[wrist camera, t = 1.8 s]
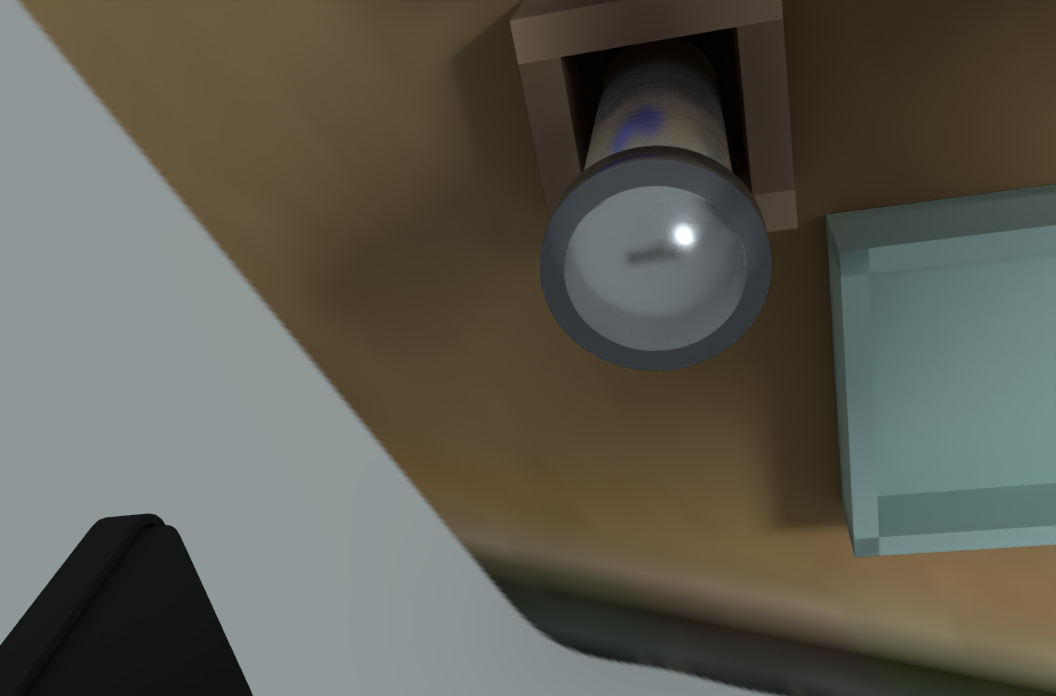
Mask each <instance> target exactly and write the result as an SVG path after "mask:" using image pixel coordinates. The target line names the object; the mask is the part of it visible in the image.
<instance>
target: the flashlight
mask: <svg viewBox="0 0 1056 696" xmlns="http://www.w3.org/2000/svg"><path fill="white" fill-rule="evenodd" d="M540 274H541V282H542V288H543V291H544V295H545V298H546V301H547V303H548V305H549V308H550V310H551V312H552V314H553V315H554V317H555V318H556V320H557V322H558V323H559V324H560V326H561V327H562V328H563V329H564V331H565V332H566V333H567V334H568V335H569V336H570V337H571V338H572V339H573V340H574V341H575V342H576V343H577V344H579V345H580V346H581V347H583V348H584V349H586V350H587V351H588V352H590V353H592V354H594V355H595V356H597V357H599V358H601V359H603V360H606V361H608V362H610V363H613V364H616V365H619V366H623V367H626V368H632V369H637V370H648V371H664V370H673V369H680V368H685V367H688V366H692V365H695V364H698V363H701V362H703V361H706V360H708V359H710V358H712V357H714V356H716V355H718V354H719V353H721V352H723V351H724V350H726V349H727V348H728V347H730V346H731V345H733V344H734V343H735V342H736V341H737V340H738V339H739V338H740V337H742V336H743V335H744V334H745V332H746V331H747V330H748V329H749V328H750V326H751V325H752V324H753V323H754V321H755V320H756V318H757V316H758V315H759V313H760V311H761V309H762V307H763V305H764V303H765V300H766V298H767V295H768V291H769V288H770V283H771V275H772V255H771V249H770V243H769V239H768V234H767V229H766V225H765V222H764V218H763V215H762V212H761V210H760V208H759V206H758V204H757V202H756V200H755V198H754V196H753V195H752V193H751V192H750V191H749V189H748V188H747V186H746V185H745V184H744V183H743V182H742V181H741V180H740V179H739V178H738V177H737V176H736V175H735V174H734V173H733V172H732V168H731V162H730V156H729V150H728V144H727V138H726V132H725V126H724V119H723V113H722V107H721V101H720V95H719V89H718V83H717V77H716V74H715V71H714V68H713V66H712V64H711V62H710V61H709V59H708V58H707V56H706V55H705V54H704V53H703V52H702V51H701V50H700V49H699V48H698V47H697V46H695V45H694V44H692V43H691V42H689V41H687V40H685V39H683V38H679V37H675V38H669V39H663V40H657V41H652V42H646V43H640V44H634V45H628V46H627V47H625V48H624V49H623V50H622V51H621V52H620V53H619V54H618V55H617V56H616V57H615V59H614V60H613V61H612V63H611V65H610V66H609V68H608V70H607V73H606V76H605V79H604V83H603V87H602V92H601V96H600V101H599V105H598V110H597V114H596V119H595V123H594V128H593V132H592V137H591V141H590V146H589V150H588V155H587V159H586V164H585V168H584V171H583V172H582V173H581V174H580V175H579V176H577V177H576V178H575V179H574V180H573V181H572V182H571V184H570V185H569V186H568V187H567V188H566V189H565V191H564V192H563V194H562V195H561V197H560V198H559V200H558V202H557V204H556V206H555V208H554V210H553V212H552V214H551V218H550V221H549V224H548V228H547V231H546V235H545V239H544V242H543V246H542V252H541V259H540Z"/></svg>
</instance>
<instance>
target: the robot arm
mask: <svg viewBox="0 0 1056 696" xmlns="http://www.w3.org/2000/svg"><path fill="white" fill-rule="evenodd" d="M0 696H253V695H252V692H251V690H250V688H249V685H248V683H247V681H246V679H245V677H244V675H243V672H242V670H241V668H240V666H239V664H238V661H237V659H236V657H235V655H234V653H233V650H232V648H231V646H230V644H229V642H228V640H227V637H226V635H225V633H224V631H223V628H222V626H221V624H220V622H219V620H218V618H217V615H216V613H215V611H214V609H213V607H212V604H211V602H210V600H209V598H208V596H207V593H206V591H205V589H204V587H203V585H202V583H201V580H200V578H199V576H198V574H197V572H196V569H195V567H194V565H193V563H192V561H191V558H190V556H189V554H188V552H187V550H186V547H185V545H184V543H183V541H182V539H181V537H180V535H179V533H178V531H177V530H176V529H175V528H174V527H172V526H169V525H165V524H164V522H163V520H162V519H161V518H159V517H158V516H157V515H154V514H139V515H128V516H117V517H106V518H104V519H101V520H98V521H97V522H96V523H95V524H94V525H93V526H92V527H91V528H90V530H89V531H88V532H87V534H86V535H85V536H84V538H83V539H82V540H81V541H80V543H79V544H78V545H77V547H76V548H75V549H74V551H73V552H72V553H71V554H70V556H69V557H68V558H67V560H66V561H65V562H64V563H63V565H62V566H61V568H60V569H59V570H58V571H57V573H56V574H55V575H54V577H53V578H52V579H51V580H50V582H49V583H48V584H47V585H46V587H45V588H44V589H43V591H42V592H41V593H40V595H39V596H38V597H37V599H36V600H35V601H34V602H33V604H32V605H31V606H30V607H29V609H28V610H27V611H26V613H25V614H24V615H23V617H22V618H21V619H20V620H19V622H18V623H17V624H16V626H15V627H14V628H13V630H12V631H11V632H10V634H9V635H8V636H7V637H6V639H5V640H4V641H3V643H2V644H1V645H0Z"/></svg>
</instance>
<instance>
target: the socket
mask: <svg viewBox="0 0 1056 696" xmlns="http://www.w3.org/2000/svg"><path fill="white" fill-rule="evenodd" d="M509 21H510V26H511V31H512V36H513V41H514V46H515V51H516V56H517V61H518V66H519V71H520V77H521V82H522V87H523V92H524V97H525V102H526V107H527V112H528V117H529V122H530V127H531V132H532V137H533V142H534V147H535V152H536V157H537V162H538V167H539V172H540V177H541V182H542V187H543V192H544V197H545V202H546V208H547V213H548V218H549V221H550V218H551V214H552V212H553V210H554V208H555V206H556V204H557V202H558V200H559V198H560V197H561V195H562V194H563V192H564V191H565V189H566V188H567V187H568V186H569V185H570V184H571V182H572V181H573V180H574V179H575V178H576V177H577V176H579V175H580V174H581V173H582V172H583V171H584V168H585V164H586V159H587V155H588V150H589V146H590V135H589V129H588V124H587V118H586V112H585V106H584V100H583V94H582V88H581V82H580V77H579V71H578V65H577V59H576V54H582V53H588V52H593V51H599V50H605V49H611V48H617V47H623V46H628V45H634V44H640V43H646V42H652V41H657V40H663V39H669V38H675V37H681V36H686V35H692V34H698V33H704V32H710V31H715V30H721V29H727V28H732V30H733V40H734V51H735V61H736V72H737V82H738V93H739V103H740V114H741V124H742V135H743V145H744V155H743V156H736V157H730V162H731V168H732V172H733V173H734V174H735V175H736V176H737V177H738V178H739V179H740V180H741V181H742V182H743V183H744V184H745V185H746V186H747V188H748V189H749V191H750V192H751V193H752V195H753V196H754V198H755V200H756V202H757V204H758V206H759V208H760V210H761V212H762V215H763V218H764V222H765V225H766V229H767V232H773V231H781V230H788V229H796V228H798V219H797V205H796V191H795V177H794V163H793V149H792V135H791V121H790V107H789V93H788V79H787V65H786V51H785V36H784V22H783V8H782V0H523V1H522V3H521V4H520V6H519V7H518V9H517V10H516V12H515V13H514V15H513V16H512V18H511V19H510V20H509Z"/></svg>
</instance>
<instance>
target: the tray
mask: <svg viewBox="0 0 1056 696" xmlns="http://www.w3.org/2000/svg"><path fill="white" fill-rule="evenodd" d="M826 226H827V244H828V262H829V280H830V297H831V315H832V333H833V350H834V368H835V386H836V404H837V421H838V439H839V457H840V474H841V492H842V506H843V510H844V514H845V518H846V522H847V526H848V530H849V535H850V539H851V543H852V547H853V551H854V555H855V557H866V556H881V555H897V554H913V553H929V552H944V551H960V550H976V549H992V548H1007V547H1023V546H1039V545H1055V544H1056V184H1053V185H1046V186H1038V187H1031V188H1023V189H1015V190H1008V191H1000V192H993V193H985V194H978V195H970V196H962V197H955V198H947V199H940V200H932V201H924V202H917V203H909V204H902V205H894V206H887V207H879V208H871V209H864V210H856V211H849V212H841V213H834V214H826Z"/></svg>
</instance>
